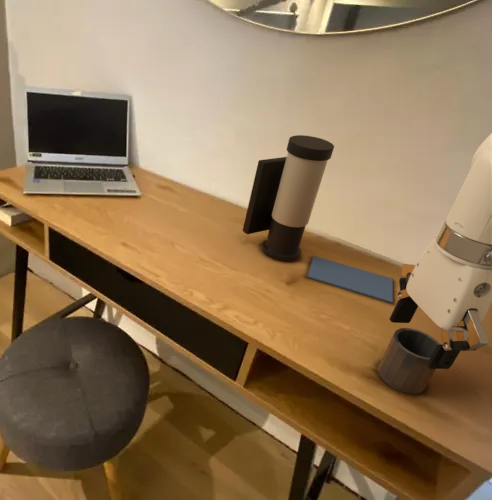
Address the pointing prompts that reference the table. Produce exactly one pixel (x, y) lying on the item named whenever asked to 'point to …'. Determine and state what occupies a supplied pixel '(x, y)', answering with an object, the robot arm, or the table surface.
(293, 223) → the light fixture
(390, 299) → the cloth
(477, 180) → the robot arm
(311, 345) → the table surface
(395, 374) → the pot
